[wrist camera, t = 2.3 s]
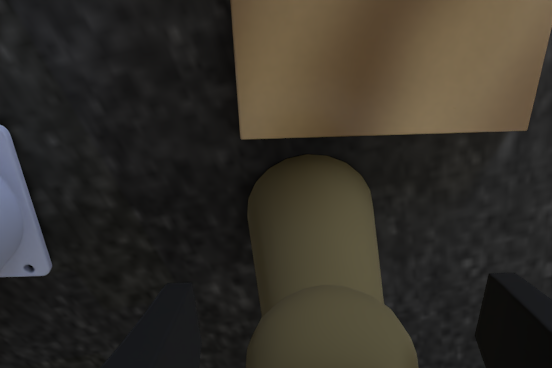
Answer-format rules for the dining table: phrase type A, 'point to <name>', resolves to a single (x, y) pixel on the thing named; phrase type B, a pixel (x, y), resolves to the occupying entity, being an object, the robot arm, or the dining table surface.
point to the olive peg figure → (320, 271)
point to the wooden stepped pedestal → (386, 66)
